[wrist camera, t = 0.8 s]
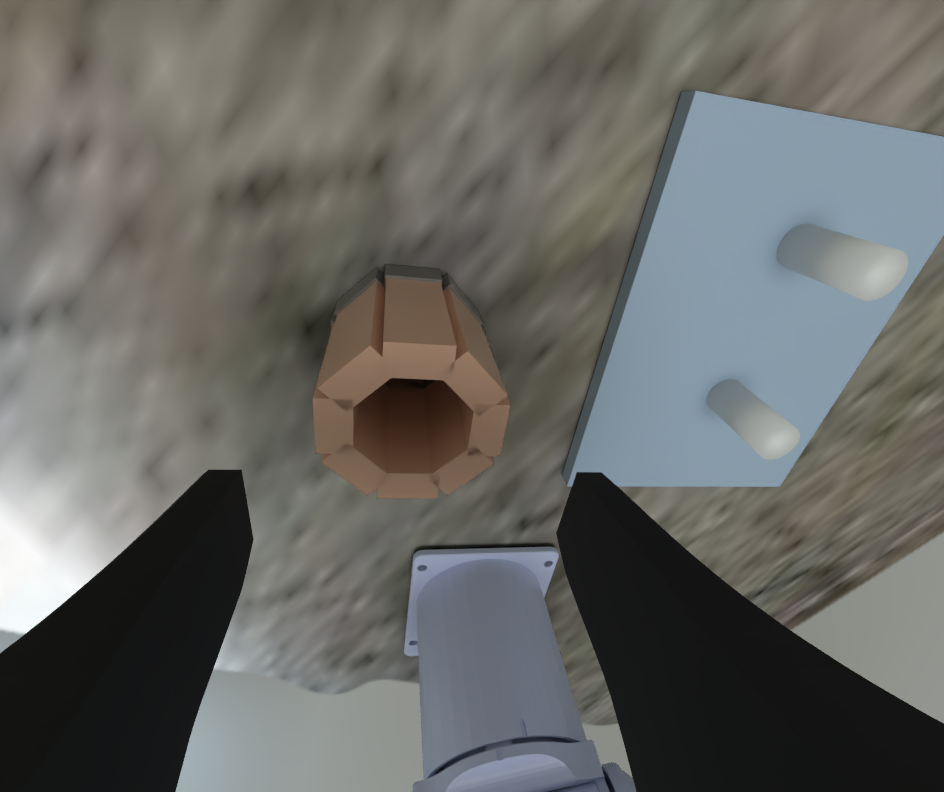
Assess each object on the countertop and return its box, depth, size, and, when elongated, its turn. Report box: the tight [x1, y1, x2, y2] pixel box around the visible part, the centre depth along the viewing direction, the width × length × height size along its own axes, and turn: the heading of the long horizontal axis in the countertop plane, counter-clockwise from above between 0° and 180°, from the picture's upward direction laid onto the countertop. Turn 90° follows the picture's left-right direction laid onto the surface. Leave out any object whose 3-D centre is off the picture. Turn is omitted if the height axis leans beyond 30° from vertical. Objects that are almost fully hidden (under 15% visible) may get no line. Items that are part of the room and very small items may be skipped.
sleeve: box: [313, 264, 511, 499], centre depth 15 cm, size 5×5×6 cm
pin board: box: [562, 91, 944, 487], centre depth 18 cm, size 16×12×4 cm
